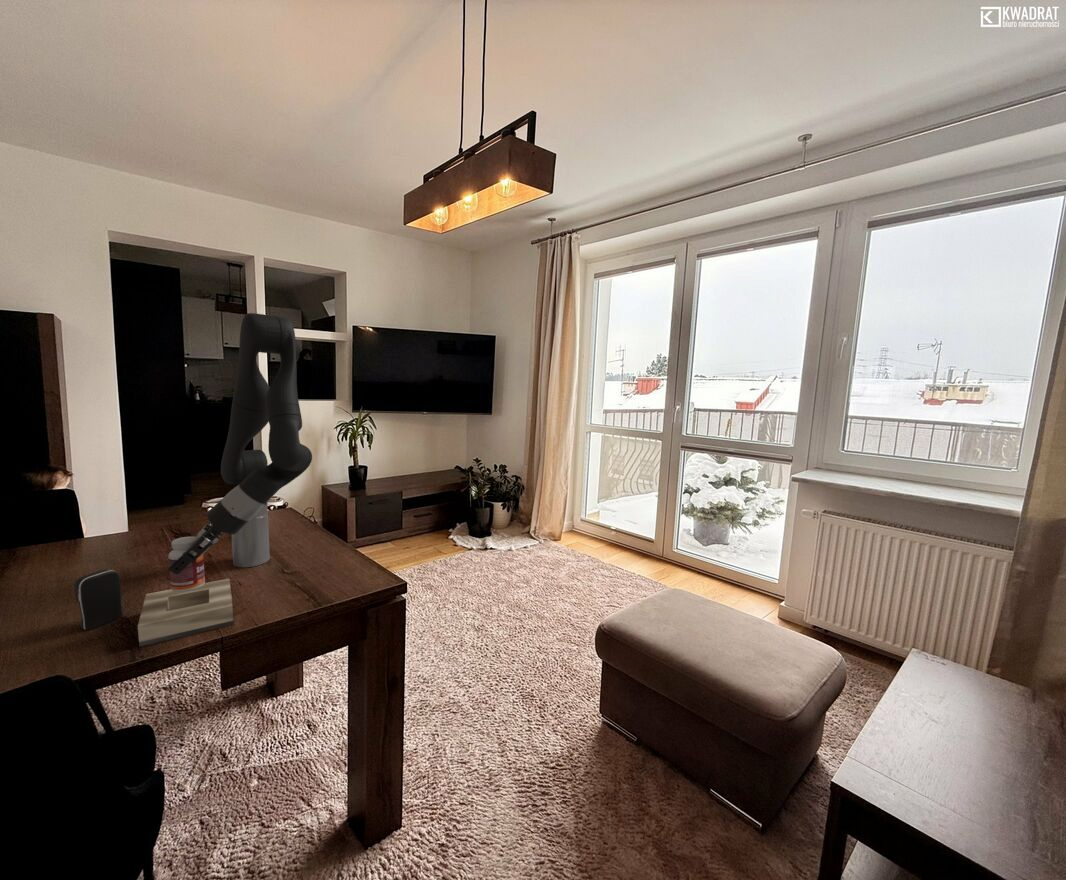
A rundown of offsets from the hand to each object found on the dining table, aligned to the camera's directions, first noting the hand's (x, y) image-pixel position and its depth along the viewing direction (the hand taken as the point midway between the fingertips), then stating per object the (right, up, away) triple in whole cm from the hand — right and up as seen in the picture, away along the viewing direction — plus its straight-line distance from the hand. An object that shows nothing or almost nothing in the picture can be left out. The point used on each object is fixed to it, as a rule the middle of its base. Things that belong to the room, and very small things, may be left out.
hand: (177, 565), depth 101 cm
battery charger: (-17, -13, 0) cm, 21 cm away
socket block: (+1, -13, +2) cm, 13 cm away
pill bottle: (+1, -5, +1) cm, 6 cm away
